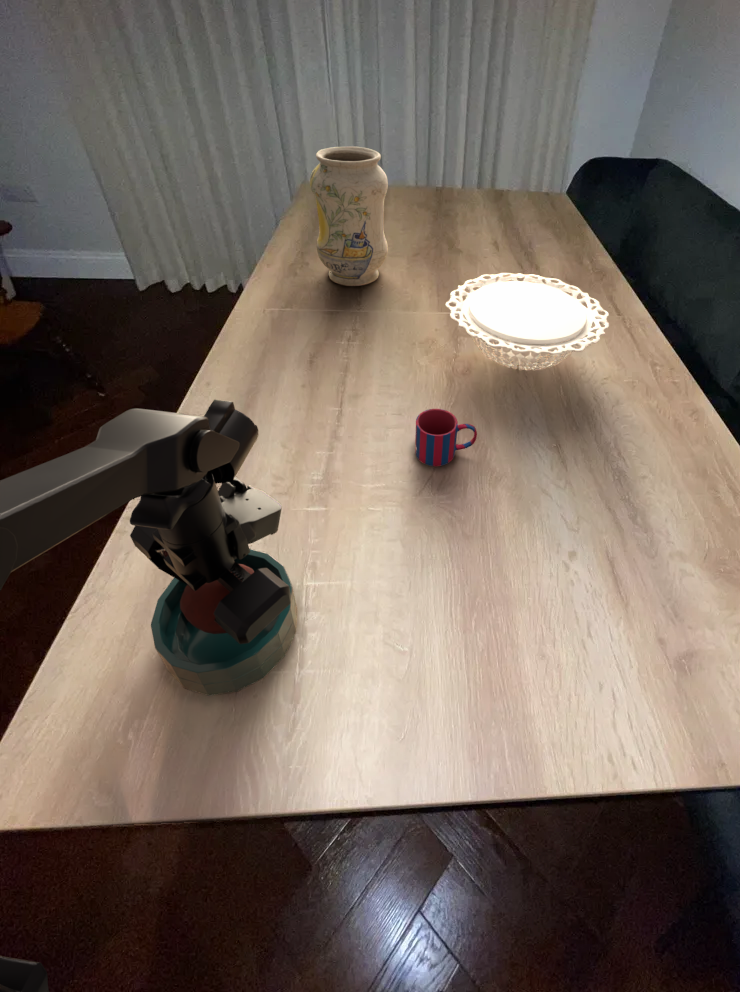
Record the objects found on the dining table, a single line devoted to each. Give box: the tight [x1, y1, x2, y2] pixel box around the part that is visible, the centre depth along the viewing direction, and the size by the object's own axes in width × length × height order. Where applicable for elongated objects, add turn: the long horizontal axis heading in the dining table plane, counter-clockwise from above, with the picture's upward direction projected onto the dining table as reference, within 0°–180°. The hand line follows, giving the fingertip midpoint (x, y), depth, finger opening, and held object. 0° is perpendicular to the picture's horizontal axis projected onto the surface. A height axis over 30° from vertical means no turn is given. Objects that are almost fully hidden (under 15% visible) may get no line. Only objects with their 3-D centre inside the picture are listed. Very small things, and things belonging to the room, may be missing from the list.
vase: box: [309, 145, 389, 287], centre depth 129 cm, size 18×18×30 cm
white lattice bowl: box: [444, 272, 610, 372], centre depth 107 cm, size 32×32×13 cm
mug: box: [414, 408, 478, 467], centre depth 86 cm, size 7×10×7 cm
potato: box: [180, 564, 254, 634], centre depth 58 cm, size 7×8×7 cm
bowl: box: [150, 548, 299, 696], centre depth 61 cm, size 15×15×6 cm
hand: (224, 607), depth 60 cm, fingers closed on potato, 8 cm apart
